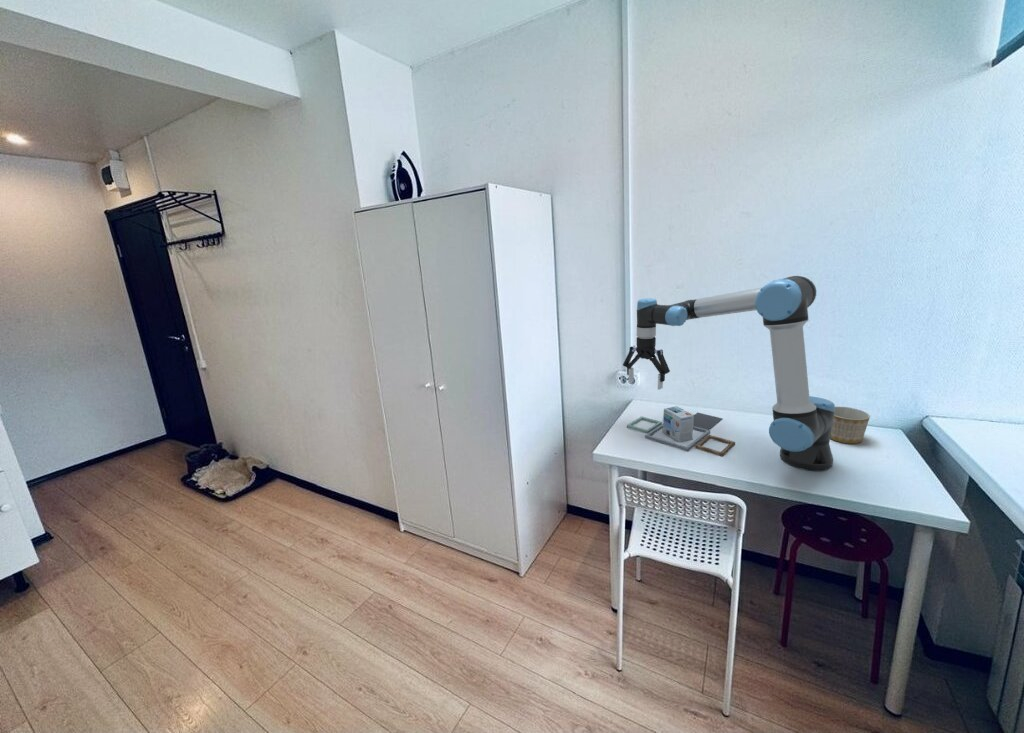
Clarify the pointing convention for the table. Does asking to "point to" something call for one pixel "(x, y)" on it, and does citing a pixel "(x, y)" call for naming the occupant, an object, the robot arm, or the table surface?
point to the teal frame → (657, 423)
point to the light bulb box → (678, 424)
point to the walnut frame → (723, 452)
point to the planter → (849, 425)
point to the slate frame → (649, 436)
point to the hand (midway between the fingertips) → (645, 385)
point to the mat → (705, 421)
